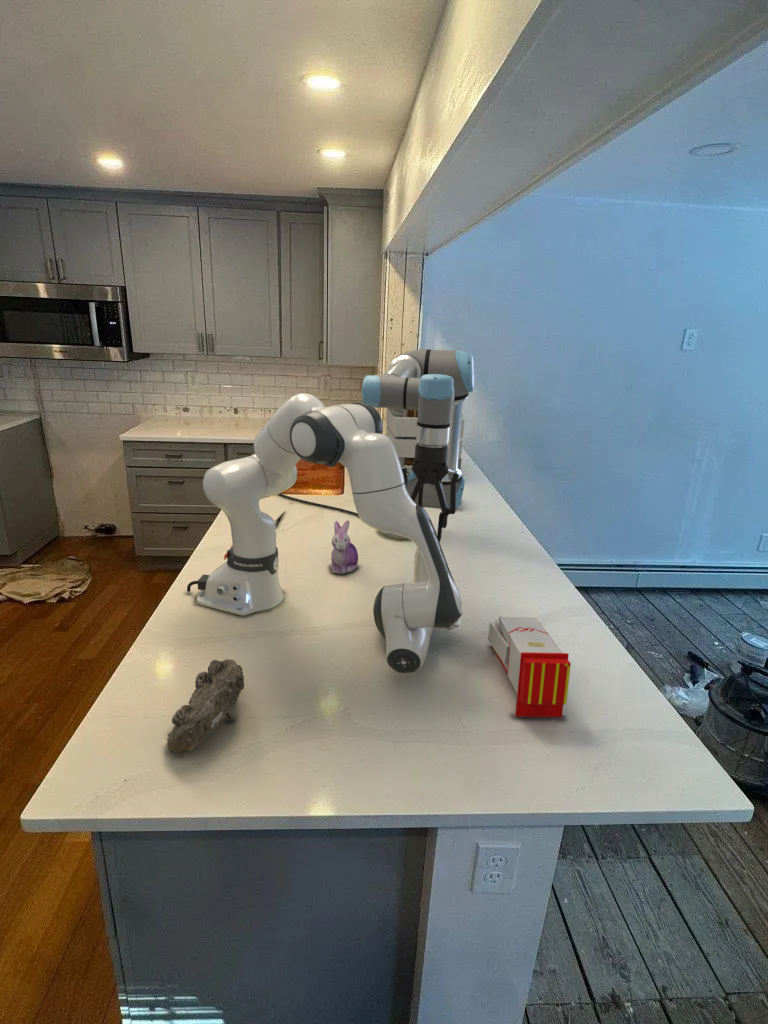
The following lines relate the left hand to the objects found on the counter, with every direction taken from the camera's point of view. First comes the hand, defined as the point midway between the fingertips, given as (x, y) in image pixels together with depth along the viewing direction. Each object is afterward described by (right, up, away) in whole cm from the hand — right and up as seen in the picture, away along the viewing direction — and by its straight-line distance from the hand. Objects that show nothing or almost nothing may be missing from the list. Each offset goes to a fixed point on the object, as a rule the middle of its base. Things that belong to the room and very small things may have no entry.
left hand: (421, 595), depth 144 cm
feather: (-47, +20, +69) cm, 86 cm away
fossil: (-42, -18, -35) cm, 58 cm away
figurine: (-22, +4, +28) cm, 36 cm away
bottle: (0, -7, +1) cm, 7 cm away
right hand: (+1, +15, -7) cm, 16 cm away
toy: (+21, -15, -19) cm, 32 cm away
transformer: (+8, +40, +131) cm, 138 cm away
